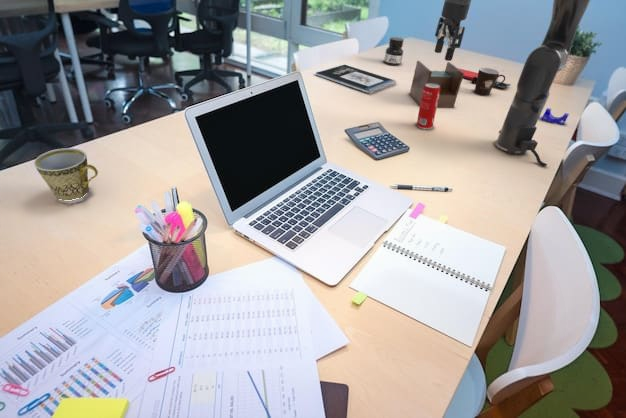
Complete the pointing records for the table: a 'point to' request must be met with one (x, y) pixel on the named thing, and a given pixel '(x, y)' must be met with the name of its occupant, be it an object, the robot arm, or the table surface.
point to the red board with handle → (474, 76)
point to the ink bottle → (394, 51)
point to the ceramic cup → (66, 173)
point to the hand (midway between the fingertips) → (442, 56)
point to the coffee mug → (486, 81)
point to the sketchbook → (356, 78)
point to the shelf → (445, 79)
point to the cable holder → (551, 118)
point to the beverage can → (428, 105)
